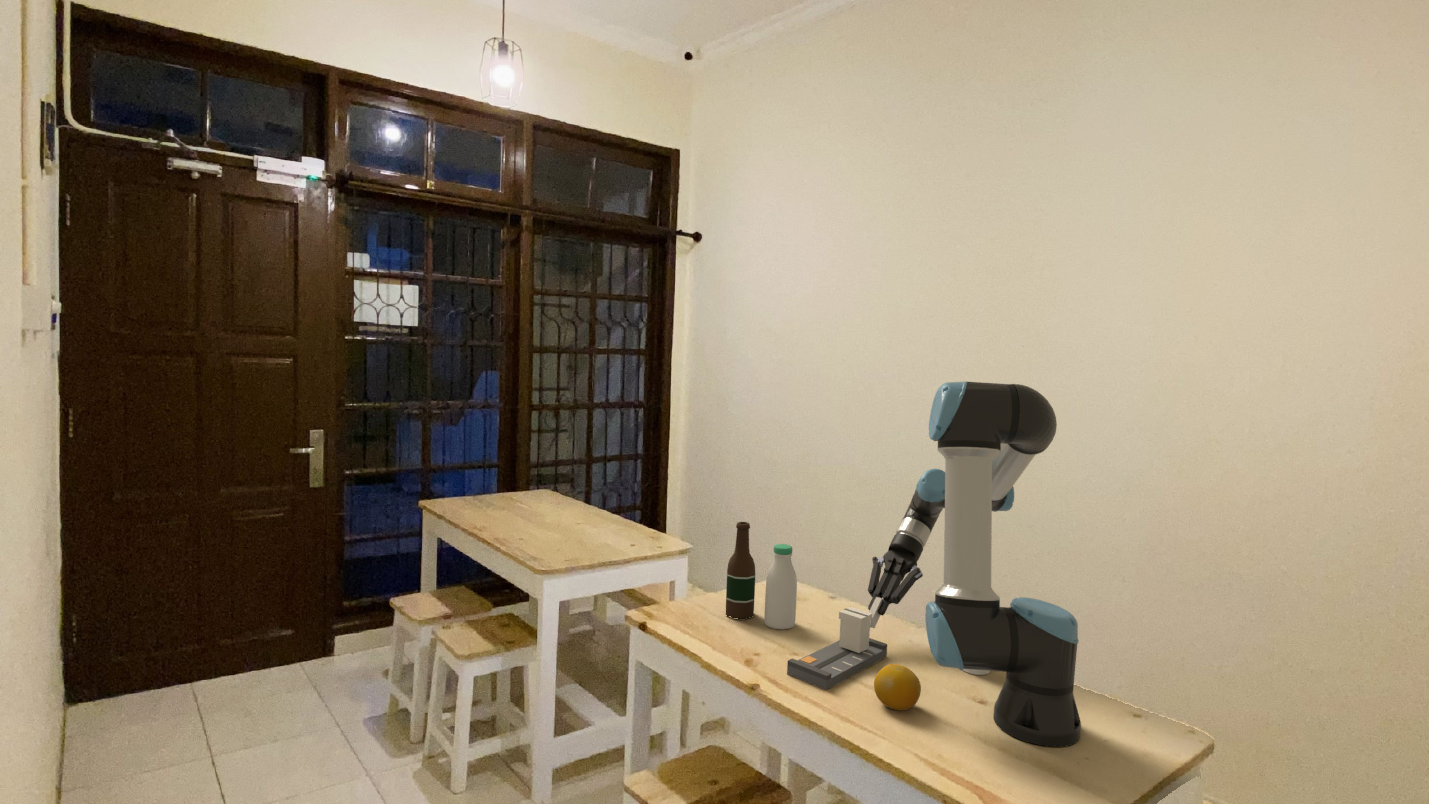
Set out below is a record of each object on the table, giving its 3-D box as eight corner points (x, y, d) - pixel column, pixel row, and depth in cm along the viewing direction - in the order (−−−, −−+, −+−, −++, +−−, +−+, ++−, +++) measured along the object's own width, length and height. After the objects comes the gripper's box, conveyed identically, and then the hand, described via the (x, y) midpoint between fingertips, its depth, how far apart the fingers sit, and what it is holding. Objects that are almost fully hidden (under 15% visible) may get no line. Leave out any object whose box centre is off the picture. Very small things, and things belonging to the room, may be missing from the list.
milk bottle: (799, 629, 187) (803, 549, 185) (769, 631, 185) (773, 550, 183) (789, 618, 194) (792, 541, 193) (760, 619, 192) (763, 542, 191)
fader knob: (848, 640, 175) (850, 606, 174) (870, 648, 171) (872, 613, 170) (837, 646, 171) (839, 611, 171) (859, 654, 168) (861, 618, 167)
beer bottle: (759, 612, 197) (763, 521, 195) (747, 622, 190) (751, 528, 188) (731, 607, 201) (735, 517, 199) (719, 616, 193) (723, 524, 191)
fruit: (921, 702, 151) (924, 663, 150) (916, 720, 144) (919, 679, 143) (876, 693, 154) (879, 655, 154) (869, 710, 147) (871, 670, 146)
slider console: (848, 643, 179) (849, 631, 179) (886, 656, 172) (887, 644, 172) (787, 674, 162) (787, 660, 161) (826, 690, 155) (826, 675, 155)
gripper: (938, 555, 184) (899, 641, 173) (890, 544, 193) (851, 624, 182) (929, 537, 180) (889, 624, 169) (880, 527, 189) (839, 608, 178)
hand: (869, 624), depth 175 cm, fingers closed
